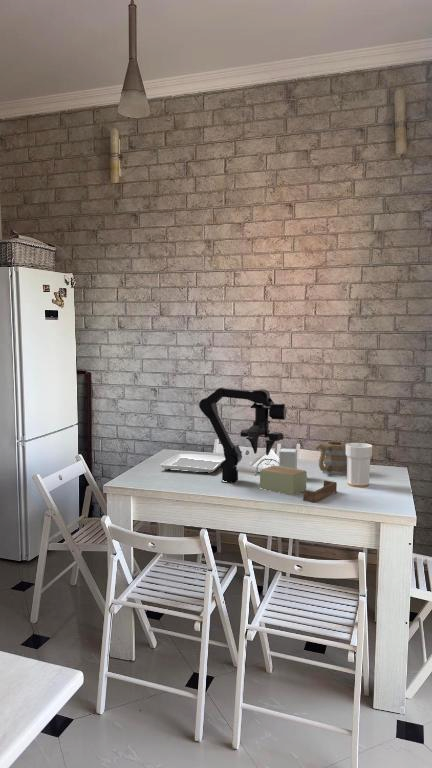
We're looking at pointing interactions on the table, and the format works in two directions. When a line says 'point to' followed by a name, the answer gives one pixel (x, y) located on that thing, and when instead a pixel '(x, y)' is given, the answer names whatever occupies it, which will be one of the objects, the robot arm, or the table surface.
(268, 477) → the tea box
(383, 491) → the table surface
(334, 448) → the tankard
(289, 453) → the supplement box
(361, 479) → the cup
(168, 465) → the square plate
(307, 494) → the bracket
